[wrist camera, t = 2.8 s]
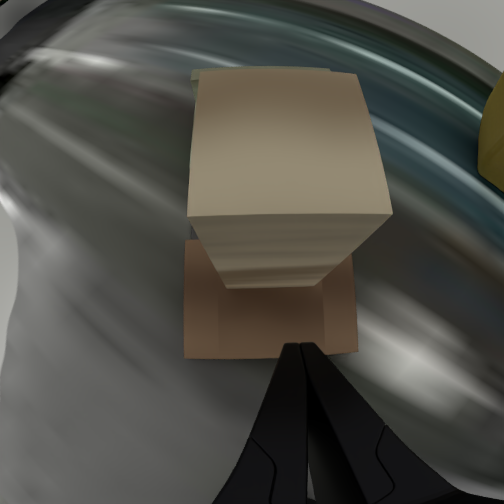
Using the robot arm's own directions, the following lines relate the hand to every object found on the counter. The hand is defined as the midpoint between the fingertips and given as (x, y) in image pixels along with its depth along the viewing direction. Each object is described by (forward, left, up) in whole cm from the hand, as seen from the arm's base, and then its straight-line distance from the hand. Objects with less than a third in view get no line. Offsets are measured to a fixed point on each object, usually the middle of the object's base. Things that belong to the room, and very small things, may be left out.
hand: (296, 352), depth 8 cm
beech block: (+5, +3, -9) cm, 11 cm away
